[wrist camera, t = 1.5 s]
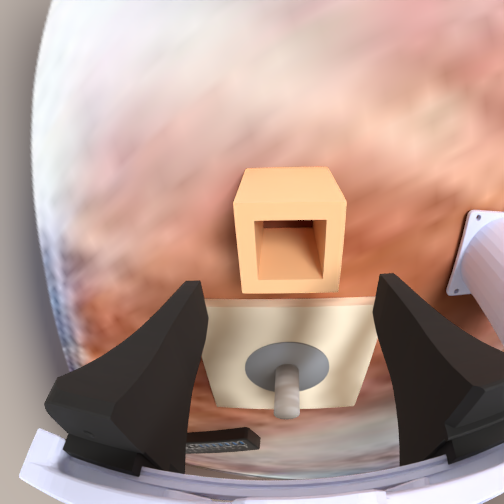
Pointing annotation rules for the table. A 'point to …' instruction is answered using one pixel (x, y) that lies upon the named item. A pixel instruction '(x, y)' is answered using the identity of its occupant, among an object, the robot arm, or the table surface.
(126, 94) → the table surface
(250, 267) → the collar
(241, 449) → the multiport hub
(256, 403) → the post board
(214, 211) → the table surface
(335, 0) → the table surface
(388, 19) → the table surface
